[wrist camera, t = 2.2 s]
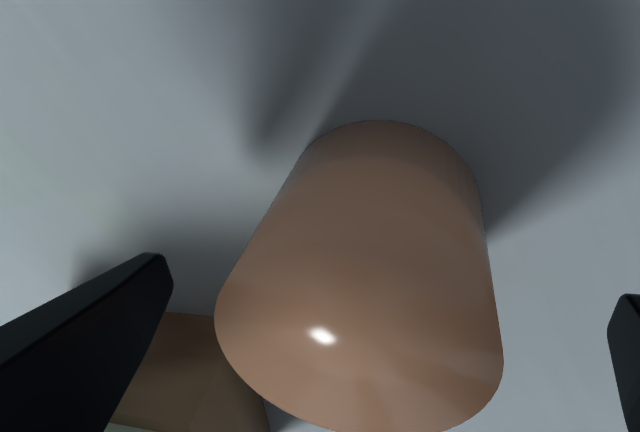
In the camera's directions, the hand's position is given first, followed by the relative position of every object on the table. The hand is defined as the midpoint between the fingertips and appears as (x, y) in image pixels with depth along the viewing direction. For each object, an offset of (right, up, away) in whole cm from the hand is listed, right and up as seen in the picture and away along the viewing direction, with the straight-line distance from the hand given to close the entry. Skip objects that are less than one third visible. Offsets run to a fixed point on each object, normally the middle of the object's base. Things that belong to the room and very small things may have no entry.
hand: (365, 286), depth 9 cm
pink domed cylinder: (+1, +2, +2) cm, 3 cm away
